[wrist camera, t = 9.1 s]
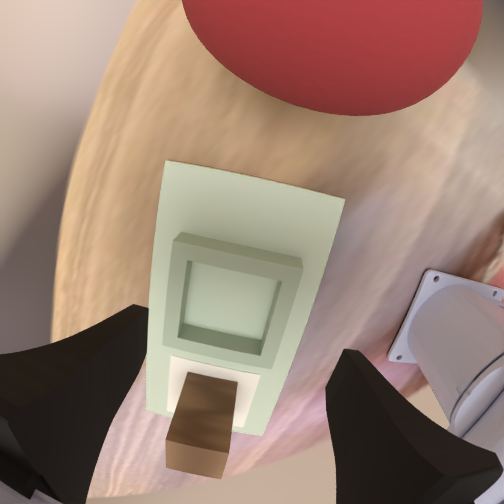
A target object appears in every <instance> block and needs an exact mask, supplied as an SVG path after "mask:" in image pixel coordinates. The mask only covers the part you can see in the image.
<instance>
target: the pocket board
mask: <svg viewBox="0 0 504 504" xmlns="http://www.w3.org/2000/svg"><path fill="white" fill-rule="evenodd" d="M344 203H345V199H344V198H341V197H337V196H333V195H330V194H326V193H322V192H318V191H314V190H310V189H306V188H302V187H298V186H294V185H290V184H286V183H281V182H277V181H273V180H268V179H264V178H259V177H255V176H250V175H246V174H241V173H236V172H231V171H226V170H221V169H216V168H211V167H206V166H200V165H195V164H189V163H184V162H178V161H172V160H165V166H164V172H163V178H162V184H161V191H160V198H159V205H158V213H157V220H156V229H155V237H154V247H153V256H152V267H151V279H150V292H149V307H148V308H149V319H148V341H147V355H146V411H150V412H153V413H156V414H160V415H163V416H167V417H171V418H173V415H174V412H175V409H176V406H177V403H178V400H179V397H180V394H181V390H182V387H183V384H184V381H185V378H186V375H187V372H192V373H197V374H201V375H206V376H211V377H216V378H221V379H226V380H231V381H236V382H238V386H237V394H236V402H235V410H234V418H233V425H232V431H234V432H239V433H245V434H252V435H258V436H262V435H263V433H264V431H265V428H266V426H267V424H268V421H269V419H270V417H271V414H272V412H273V409H274V407H275V405H276V402H277V400H278V397H279V395H280V392H281V390H282V387H283V385H284V382H285V380H286V377H287V375H288V372H289V370H290V367H291V364H292V362H293V359H294V356H295V354H296V351H297V348H298V346H299V343H300V340H301V338H302V335H303V332H304V329H305V326H306V324H307V321H308V318H309V315H310V312H311V309H312V306H313V303H314V300H315V298H316V295H317V292H318V289H319V285H320V282H321V279H322V276H323V273H324V270H325V267H326V264H327V261H328V257H329V254H330V251H331V248H332V244H333V241H334V238H335V234H336V231H337V227H338V224H339V220H340V217H341V213H342V210H343V206H344Z"/></svg>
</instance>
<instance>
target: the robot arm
mask: <svg viewBox="0 0 504 504" xmlns="http://www.w3.org/2000/svg"><path fill="white" fill-rule="evenodd" d="M435 276H437V278H436V279H435V280H434V277H435ZM493 292H494V293H493ZM503 297H504V290H503V289H502V288H499V287H495V286H491V285H488V284H484V283H480V282H477V281H473V280H469V279H466V278H462V277H458V276H455V275H451V274H447V273H443V272H439V271H436V270H432V269H429V270H427V271H426V272H425V274H424V276H423V278H422V281H421V283H420V286H419V288H418V291H417V293H416V295H415V298H414V300H413V302H412V305H411V307H410V309H409V311H408V314H407V316H406V318H405V320H404V322H403V324H402V327H401V329H400V331H399V333H398V335H397V337H396V339H395V341H394V343H393V345H392V347H391V349H390V351H389V353H388V355H387V357H388V359H389V361H391V362H401V363H412V364H418V365H419V367H420V369H421V371H422V372H423V374H424V376H425V378H426V380H427V381H428V383H429V385H430V387H431V389H432V391H433V392H434V394H435V396H436V398H437V400H438V402H439V404H440V405H441V407H442V409H443V411H444V413H445V415H446V417H447V419H448V421H449V423H450V426H449V427H448V429H447V430H446V429H444V428H442V427H441V426H439V425H438V424H436V423H435V422H433V421H432V420H431V419H429V418H428V417H427V416H425V415H424V414H423V413H421V412H420V411H419V410H418V409H416V408H415V407H414V406H413V405H412V404H411V403H409V402H408V401H407V400H406V399H405V398H404V397H403V396H402V395H401V394H400V393H399V392H398V391H397V390H396V389H395V388H394V387H393V386H392V385H391V384H390V383H389V382H388V381H387V380H386V379H385V378H384V376H383V375H382V374H381V373H380V372H379V371H378V370H377V369H376V368H375V367H374V366H373V365H372V363H371V362H370V361H369V360H368V359H367V358H366V357H365V356H364V355H363V354H362V353H361V352H360V351H358V350H351V349H344V350H343V352H342V354H341V356H340V358H339V361H338V363H337V365H336V367H335V369H334V371H333V373H332V375H331V377H330V379H329V381H328V383H327V385H326V387H325V390H326V411H327V417H328V423H329V429H330V434H331V439H332V445H333V450H334V456H335V464H336V486H337V487H336V504H504V304H503V303H502V300H503ZM148 319H149V308H146V307H142V306H139V305H135V304H133V305H131V306H129V307H127V308H125V309H123V310H122V311H120V312H118V313H116V314H114V315H113V316H111V317H109V318H107V319H105V320H103V321H102V322H100V323H98V324H96V325H94V326H92V327H90V328H88V329H86V330H83V331H81V332H79V333H77V334H75V335H73V336H70V337H68V338H65V339H63V340H60V341H57V342H54V343H51V344H48V345H45V346H41V347H37V348H33V349H29V350H25V351H21V352H14V353H8V354H0V504H85V503H86V499H87V495H88V491H89V487H90V483H91V480H92V476H93V473H94V469H95V466H96V463H97V460H98V457H99V454H100V451H101V448H102V446H103V443H104V440H105V438H106V435H107V432H108V430H109V427H110V425H111V423H112V421H113V419H114V417H115V415H116V413H117V411H118V409H119V408H120V406H121V404H122V402H123V400H124V399H125V397H126V395H127V393H128V391H129V390H130V388H131V386H132V384H133V383H134V381H135V379H136V377H137V375H138V374H139V371H140V369H141V366H142V364H143V361H144V359H145V356H146V354H147V341H148ZM399 355H400V356H399ZM397 356H399V357H397Z"/></svg>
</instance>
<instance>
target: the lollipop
mask: <svg viewBox="0 0 504 504" xmlns="http://www.w3.org/2000/svg"><path fill="white" fill-rule="evenodd" d="M182 3H183V7H184V10H185V13H186V16H187V19H188V21H189V23H190V25H191V27H192V29H193V31H194V32H195V34H196V35H197V37H198V39H199V40H200V41H201V42H202V44H203V45H204V46H205V48H206V49H207V50H208V51H209V52H210V53H211V54H212V55H213V56H214V57H215V58H216V59H217V60H218V61H219V62H220V63H221V64H222V65H223V66H225V67H226V68H227V69H228V70H230V71H231V72H232V73H234V74H235V75H236V76H238V77H239V78H241V79H242V80H244V81H245V82H247V83H249V84H250V85H252V86H254V87H255V88H257V89H259V90H261V91H263V92H265V93H267V94H269V95H271V96H273V97H276V98H278V99H280V100H283V101H285V102H288V103H291V104H293V105H296V106H300V107H304V108H307V109H311V110H315V111H319V112H324V113H330V114H337V115H350V116H369V115H379V114H385V113H390V112H394V111H397V110H401V109H404V108H406V107H409V106H411V105H414V104H416V103H418V102H419V101H421V100H423V99H425V98H427V97H428V96H430V95H431V94H433V93H434V92H435V91H437V90H438V89H439V88H441V87H442V86H443V85H444V84H445V83H447V82H448V81H449V80H450V78H451V77H452V76H453V75H454V74H455V73H456V72H457V71H458V69H459V68H460V67H461V66H462V64H463V63H464V61H465V60H466V58H467V57H468V55H469V53H470V52H471V50H472V47H473V45H474V43H475V41H476V38H477V35H478V32H479V28H480V24H481V18H482V8H483V0H182Z"/></svg>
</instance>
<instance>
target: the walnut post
mask: <svg viewBox="0 0 504 504" xmlns="http://www.w3.org/2000/svg"><path fill="white" fill-rule="evenodd" d="M237 386H238V382H236V381H231V380H226V379H221V378H216V377H211V376H206V375H201V374H197V373H192V372H187V375H186V378H185V381H184V384H183V387H182V390H181V394H180V397H179V400H178V403H177V406H176V409H175V412H174V415H173V418H172V421H171V424H170V428H169V431H168V434H167V437H166V468H170V469H174V470H178V471H182V472H187V473H191V474H196V475H201V476H206V477H211V478H217V479H221V478H222V475H223V471H224V468H225V465H226V461H227V458H228V455H229V448H230V441H231V433H232V425H233V418H234V410H235V402H236V394H237Z"/></svg>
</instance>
